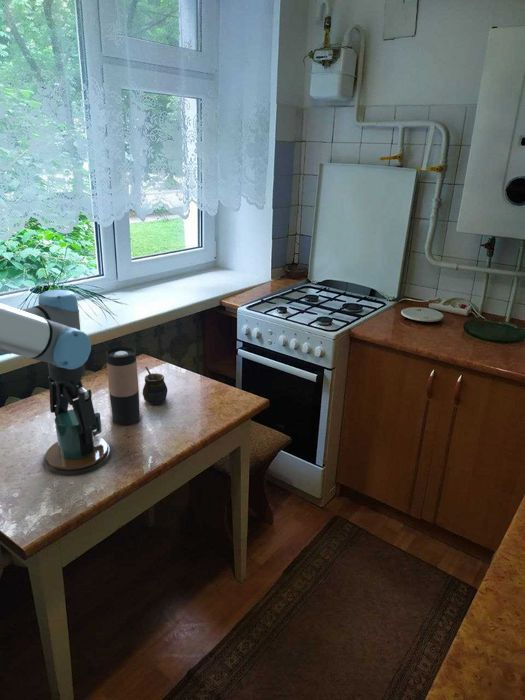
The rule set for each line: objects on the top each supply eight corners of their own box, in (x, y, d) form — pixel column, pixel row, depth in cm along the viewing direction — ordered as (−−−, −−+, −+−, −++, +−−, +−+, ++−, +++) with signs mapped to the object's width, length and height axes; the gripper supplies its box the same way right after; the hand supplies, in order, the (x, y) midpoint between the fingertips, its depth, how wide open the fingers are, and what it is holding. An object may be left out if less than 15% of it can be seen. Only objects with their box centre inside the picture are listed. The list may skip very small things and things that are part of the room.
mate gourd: (156, 409, 142) (154, 378, 138) (136, 402, 146) (134, 371, 142) (172, 400, 148) (171, 369, 144) (154, 393, 152) (152, 363, 148)
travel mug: (107, 417, 137) (100, 350, 130) (131, 409, 142) (126, 344, 134) (120, 428, 132) (114, 359, 124) (145, 419, 137) (141, 352, 129)
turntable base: (67, 483, 110) (67, 480, 109) (31, 458, 118) (31, 455, 118) (123, 454, 121) (122, 451, 120) (86, 433, 129) (86, 430, 129)
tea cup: (67, 478, 110) (62, 440, 106) (34, 454, 118) (28, 418, 114) (119, 451, 120) (116, 415, 117) (85, 431, 128) (82, 397, 125)
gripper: (108, 367, 107) (117, 456, 115) (55, 343, 119) (66, 426, 127) (78, 378, 101) (89, 471, 110) (25, 352, 113) (38, 438, 121)
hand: (76, 446), depth 118 cm, fingers closed on tea cup, 8 cm apart
